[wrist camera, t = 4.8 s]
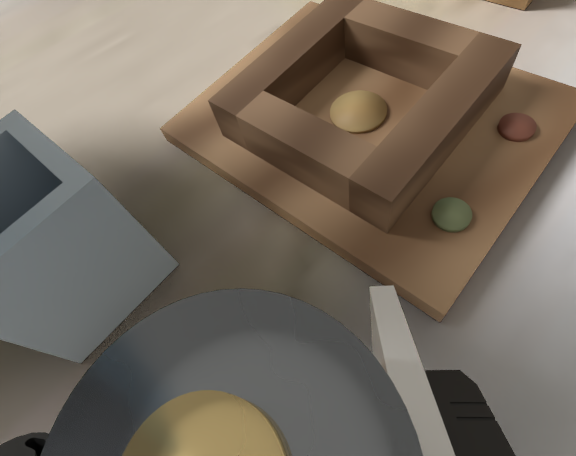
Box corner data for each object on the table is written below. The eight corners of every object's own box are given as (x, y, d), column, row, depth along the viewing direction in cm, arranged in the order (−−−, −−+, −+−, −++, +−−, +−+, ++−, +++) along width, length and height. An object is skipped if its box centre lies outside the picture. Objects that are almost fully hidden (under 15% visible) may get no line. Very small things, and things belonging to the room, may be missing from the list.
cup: (20, 285, 19) (-132, 214, 13) (111, 205, 21) (15, 109, 15) (80, 363, 17) (-73, 317, 11) (179, 264, 18) (94, 177, 12)
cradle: (167, 140, 23) (138, 94, 20) (311, 15, 27) (306, -39, 24) (440, 322, 15) (460, 293, 12) (584, 109, 19) (626, 47, 16)
